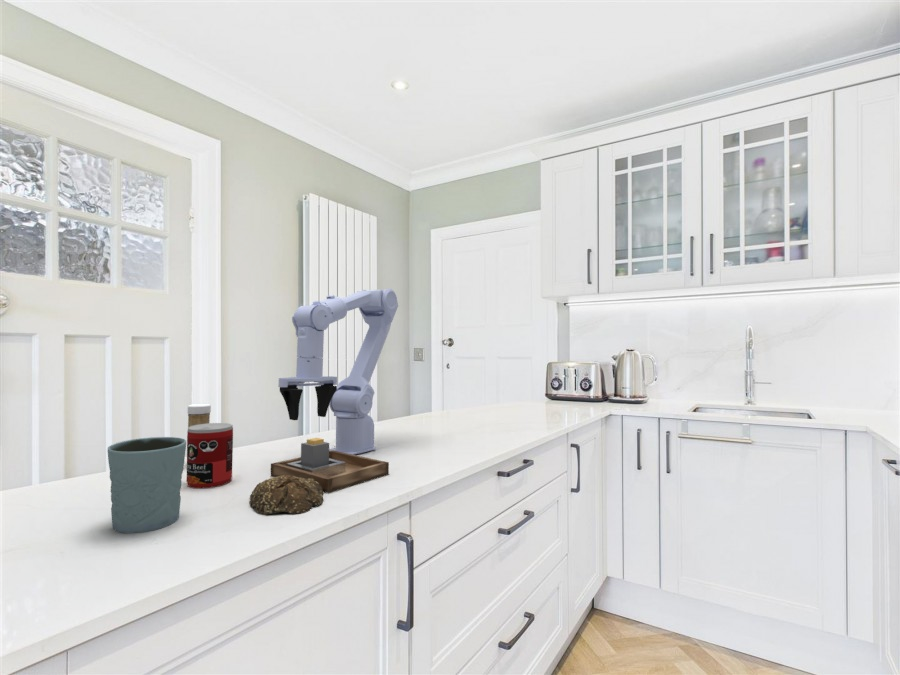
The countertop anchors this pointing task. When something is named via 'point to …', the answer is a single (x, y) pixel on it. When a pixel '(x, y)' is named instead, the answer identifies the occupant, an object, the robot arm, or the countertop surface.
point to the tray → (355, 473)
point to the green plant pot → (146, 483)
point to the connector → (315, 453)
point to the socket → (322, 467)
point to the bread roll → (286, 495)
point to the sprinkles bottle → (198, 414)
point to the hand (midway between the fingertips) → (308, 418)
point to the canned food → (209, 455)
